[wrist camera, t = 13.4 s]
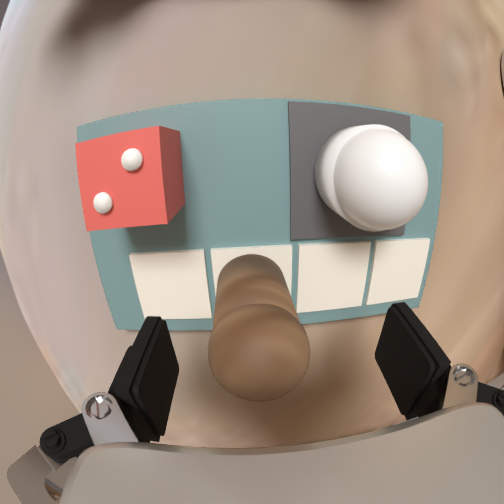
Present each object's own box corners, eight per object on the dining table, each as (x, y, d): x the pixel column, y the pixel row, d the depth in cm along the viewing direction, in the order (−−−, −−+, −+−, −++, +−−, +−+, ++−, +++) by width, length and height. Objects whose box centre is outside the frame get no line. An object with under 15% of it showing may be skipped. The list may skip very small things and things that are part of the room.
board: (432, 122, 14) (486, 123, 9) (411, 299, 19) (446, 338, 14) (86, 127, 13) (33, 126, 8) (122, 319, 18) (96, 368, 13)
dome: (397, 131, 13) (452, 133, 8) (394, 218, 15) (442, 246, 10) (313, 123, 12) (350, 113, 8) (313, 219, 14) (345, 252, 10)
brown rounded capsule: (286, 250, 15) (328, 342, 8) (285, 311, 17) (313, 413, 10) (212, 254, 15) (194, 352, 8) (219, 316, 17) (213, 421, 9)
